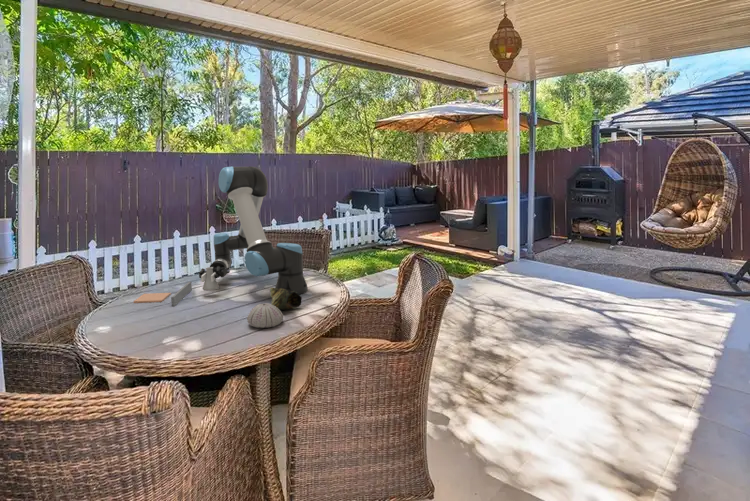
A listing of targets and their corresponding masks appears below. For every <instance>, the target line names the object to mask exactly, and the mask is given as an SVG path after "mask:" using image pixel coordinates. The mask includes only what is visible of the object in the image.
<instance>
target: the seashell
mask: <svg viewBox="0 0 750 501" xmlns="http://www.w3.org/2000/svg"><path fill="white" fill-rule="evenodd" d="M269 290H270V291H269V293H270V297H271V301H270V304H272V305H274V306H276V307H277V308H278V309H279V310H280V311H287V310H296V309H297V308H299V307H300V306H301V305H302V303H303V302H302V296H301V294H299V293H297V292H296V291H292V292H288V291H287V290H286V289H278V288H275V287H270V288H269Z"/></svg>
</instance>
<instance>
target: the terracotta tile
mask: <svg viewBox="0 0 750 501" xmlns="http://www.w3.org/2000/svg"><path fill="white" fill-rule="evenodd" d="M171 295H172V292H158V293H157V292H156V293H152V292H151V293H143V294H142V295H140V296H139V297H138V298H136V299H135V300H133V302H132V303H133V304H144V303H163V302H164V301H165V300H166V299H168V297H170V296H171ZM162 301H163V302H162Z"/></svg>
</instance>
